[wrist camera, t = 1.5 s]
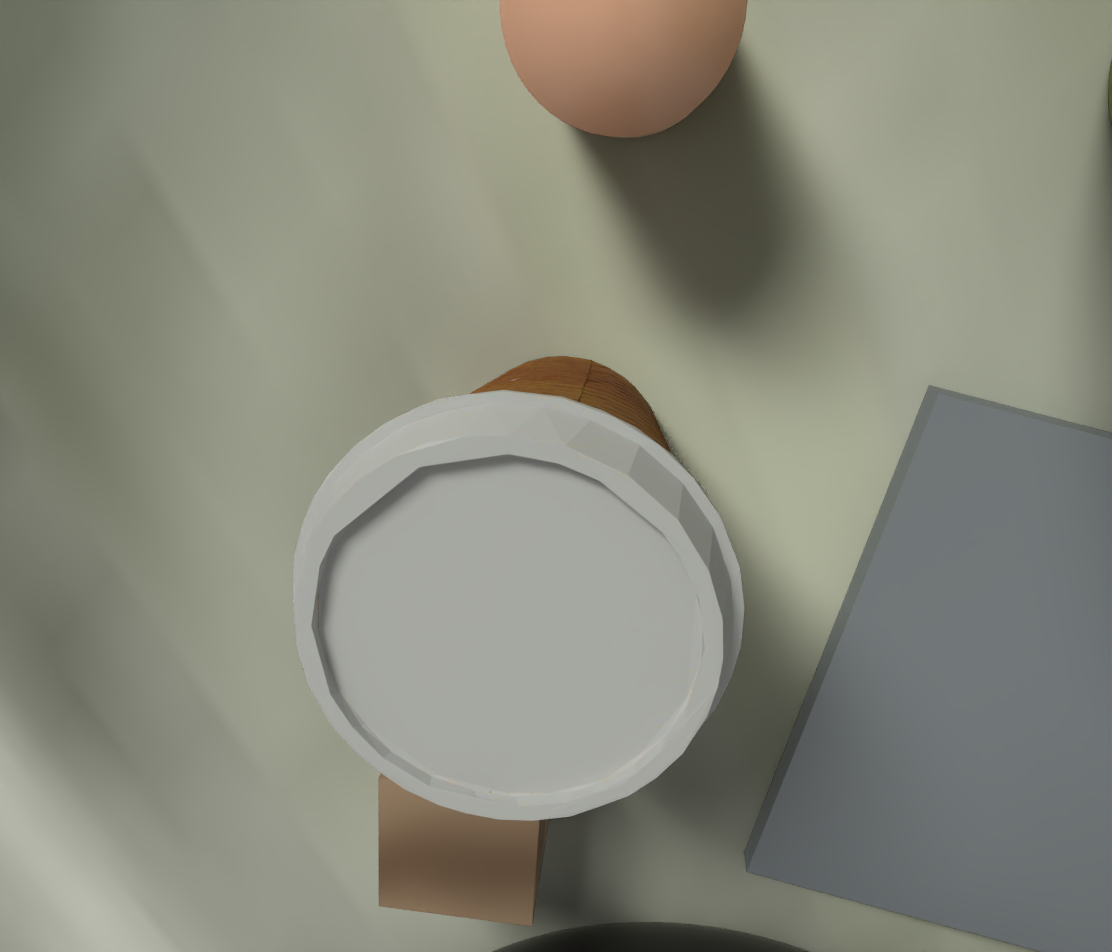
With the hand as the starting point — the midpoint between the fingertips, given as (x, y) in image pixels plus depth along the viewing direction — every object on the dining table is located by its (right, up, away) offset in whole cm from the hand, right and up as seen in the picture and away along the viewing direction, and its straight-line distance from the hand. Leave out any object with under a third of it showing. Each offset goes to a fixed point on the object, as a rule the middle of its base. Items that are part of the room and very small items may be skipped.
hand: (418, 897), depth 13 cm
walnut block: (-1, -4, +21) cm, 22 cm away
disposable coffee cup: (+2, +6, +17) cm, 19 cm away
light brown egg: (+4, +18, +13) cm, 22 cm away
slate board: (+18, -2, +18) cm, 26 cm away
